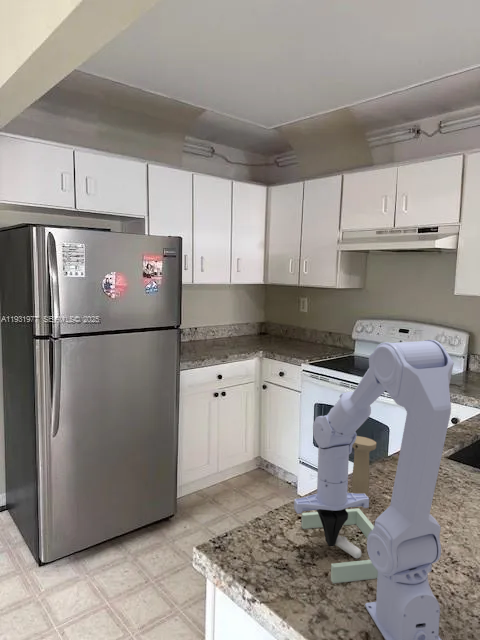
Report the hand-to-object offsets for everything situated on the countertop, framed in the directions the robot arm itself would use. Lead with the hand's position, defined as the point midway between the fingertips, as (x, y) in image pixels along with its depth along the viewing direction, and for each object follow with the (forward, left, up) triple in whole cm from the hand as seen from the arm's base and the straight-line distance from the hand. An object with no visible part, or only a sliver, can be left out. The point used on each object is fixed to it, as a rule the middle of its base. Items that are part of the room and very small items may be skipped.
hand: (330, 543), depth 88 cm
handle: (+17, -14, -2) cm, 22 cm away
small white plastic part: (-2, -3, -2) cm, 4 cm away
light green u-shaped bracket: (0, -3, -1) cm, 3 cm away
